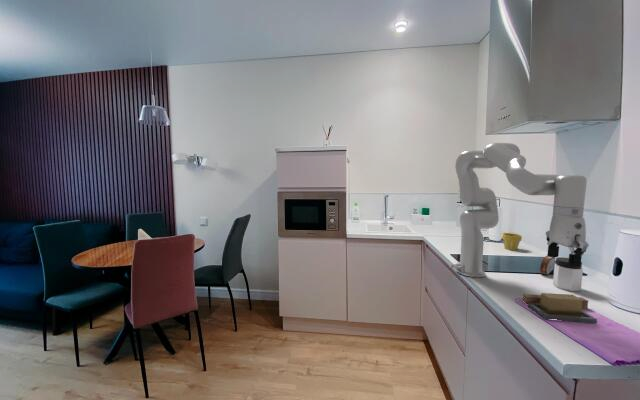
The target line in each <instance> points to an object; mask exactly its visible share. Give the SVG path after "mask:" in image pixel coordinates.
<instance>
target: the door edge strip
mask: <svg viewBox="0 0 640 400" xmlns="http://www.w3.org/2000/svg"><path fill="white" fill-rule="evenodd" d="M577 297H578V296H577ZM578 298H580V299H582V300H583V301H582V309H588V306H589V305H588V304H589V300H587V299H586V298H584V297H580V296H579V297H578ZM521 301H524V302H525V303H526V304H528V303H537V304H540V302H541V294H528V293H523V294H522V300H521ZM524 302H523V303H524ZM525 303H524V304H525ZM526 304H525V305H526Z"/></svg>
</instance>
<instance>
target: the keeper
mask: <svg viewBox="0 0 640 400" xmlns="http://www.w3.org/2000/svg"><path fill="white" fill-rule="evenodd" d="M527 308H529V309H530V308H531V309H532V310H531V309H530V310H531V311H532V312H534V311H535V312H536V313H535V312H534V313H535V314H537V315H538V316H539V317H540V318H542V319H543V320H545V321H549V320H548V319H557V320H562V321H561V322H566V321H568V322H569V323H580V324H582V323H583V324H584V323H585V324H594V323H598V318H596V317H594V316H593V315H591V314H589V313H588V312H586V311H584V310H582V312H581V317H578V316H563V315H548V314H546V313H545V312H543V311H542V310H540V304H537V303H528V305H527ZM568 322H567V323H568Z"/></svg>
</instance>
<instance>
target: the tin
mask: <svg viewBox="0 0 640 400" xmlns="http://www.w3.org/2000/svg"><path fill="white" fill-rule="evenodd" d="M555 262H556V257H548V256H547V255H545V256H544V257H543V258H542V260H541V263H540V268H539V273H540V274H542V275H546V276H548V275H549V274H551V273H552V272H553V271H554V265H555ZM552 270H553V271H552ZM551 271H552V272H551ZM550 272H551V273H550Z"/></svg>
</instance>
